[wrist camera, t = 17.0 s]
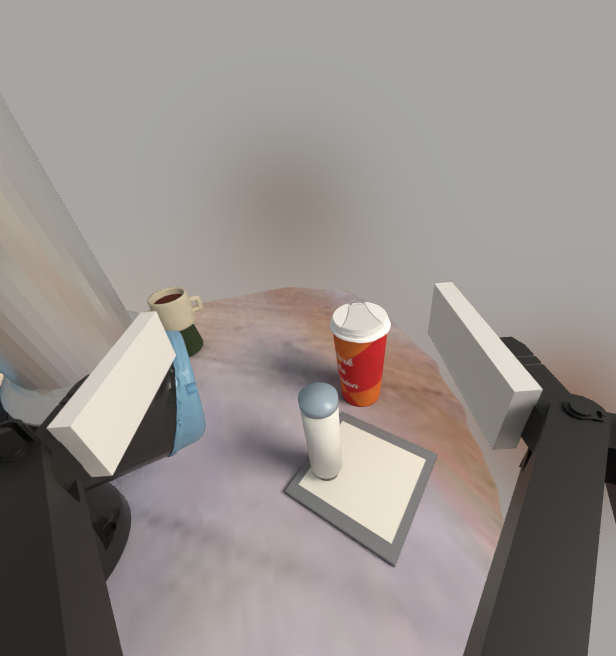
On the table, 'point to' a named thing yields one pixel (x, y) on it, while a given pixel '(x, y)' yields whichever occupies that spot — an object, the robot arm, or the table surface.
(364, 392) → the coffee cup
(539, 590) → the robot arm
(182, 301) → the character mug
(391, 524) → the writing board
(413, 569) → the table surface
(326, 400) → the thick grey marker
